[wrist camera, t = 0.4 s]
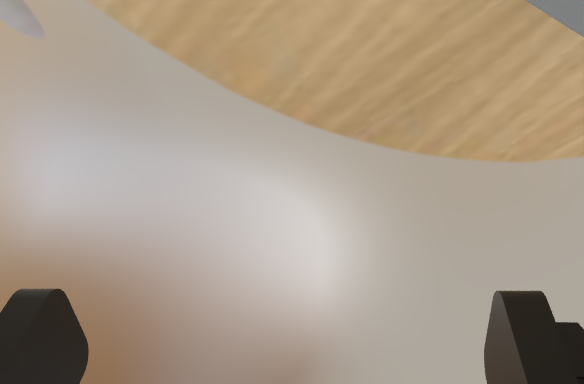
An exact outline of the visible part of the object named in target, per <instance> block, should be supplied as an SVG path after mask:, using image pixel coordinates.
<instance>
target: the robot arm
mask: <svg viewBox="0 0 584 384" xmlns="http://www.w3.org/2000/svg"><path fill="white" fill-rule="evenodd" d="M87 362H88V343H87V339H86V337H85V335H84V332H83V330H82V328H81V326H80V324H79V322H78V319H77V317H76V315H75V313H74V311H73V309H72V306H71V304H70V302H69V300H68V298H67V296H66V294H65V293H64V291H62V290H61V289H20V290H18V291H16V292H15V293H14V294H13V295H12V297H11V298H10V299H9V301H8V302H7V304H6V305H5V307H4V308H3V310H2V311H1V313H0V384H79V383H80V381H81V379H82V377H83V375H84V372H85V369H86V366H87ZM484 364H485V374H486V380H487V384H584V329H583V328H582V327H581V326H580V325H579V324H578V323H568V322H562V323H561V322H555V319H554V317H553V314H552V311H551V309H550V306H549V304H548V301H547V299H546V296H545V295H544V293H543V292H541V291H496V292H495V293H494V296H493V301H492V307H491V313H490V319H489V324H488V330H487V336H486V342H485V349H484Z"/></svg>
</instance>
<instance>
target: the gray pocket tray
mask: <svg viewBox="0 0 584 384" xmlns="http://www.w3.org/2000/svg"><path fill="white" fill-rule="evenodd" d="M526 1H528V2H529V3H531V4H532V5H534V6H536V7H537V8H539V9H540V10H542V11H543V12H545V13H547V14H548V15H550V16H551V17H553V18H554V19H556V20H558V21H559V22H561V23H562V24H564V25H565V26H567V27H569V28H570V29H572V30H573V31H575V32H576V33H578V34H580V35H581V36H583V37H584V0H526Z"/></svg>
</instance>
